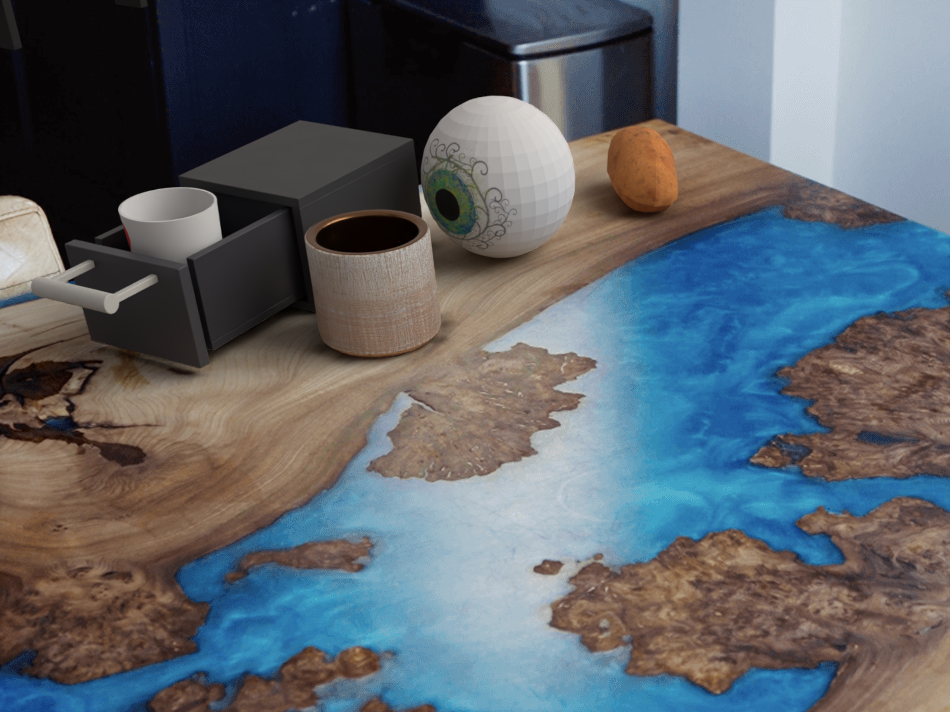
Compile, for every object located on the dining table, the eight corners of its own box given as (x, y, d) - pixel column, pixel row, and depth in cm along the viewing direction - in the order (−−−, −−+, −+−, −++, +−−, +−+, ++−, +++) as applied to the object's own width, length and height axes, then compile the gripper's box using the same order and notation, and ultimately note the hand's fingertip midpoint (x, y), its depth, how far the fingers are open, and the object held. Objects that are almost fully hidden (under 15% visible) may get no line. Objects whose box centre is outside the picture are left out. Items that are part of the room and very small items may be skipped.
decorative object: (399, 252, 142) (380, 99, 133) (514, 213, 150) (503, 66, 141) (493, 296, 134) (479, 135, 125) (609, 251, 142) (604, 98, 133)
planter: (458, 314, 131) (448, 212, 125) (417, 366, 122) (403, 260, 116) (349, 304, 133) (333, 204, 127) (300, 355, 124) (281, 250, 118)
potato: (661, 178, 159) (670, 115, 154) (681, 229, 150) (692, 164, 145) (598, 174, 157) (605, 110, 153) (615, 225, 148) (623, 160, 144)
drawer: (149, 400, 116) (122, 298, 110) (36, 370, 121) (6, 270, 115) (321, 296, 132) (305, 202, 126) (216, 272, 137) (197, 181, 131)
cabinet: (317, 313, 131) (297, 198, 125) (202, 287, 136) (177, 175, 130) (425, 246, 144) (413, 138, 137) (316, 224, 149) (299, 119, 142)
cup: (174, 291, 130) (149, 184, 124) (254, 299, 129) (233, 190, 123) (128, 328, 124) (99, 217, 118) (212, 337, 123) (187, 225, 116)
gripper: (83, -317, 107) (143, -16, 120) (-200, -291, 89) (-93, 59, 102) (160, -313, 105) (213, -5, 118) (-115, -286, 87) (-17, 73, 100)
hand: (71, 25), depth 110 cm, fingers open, 13 cm apart
